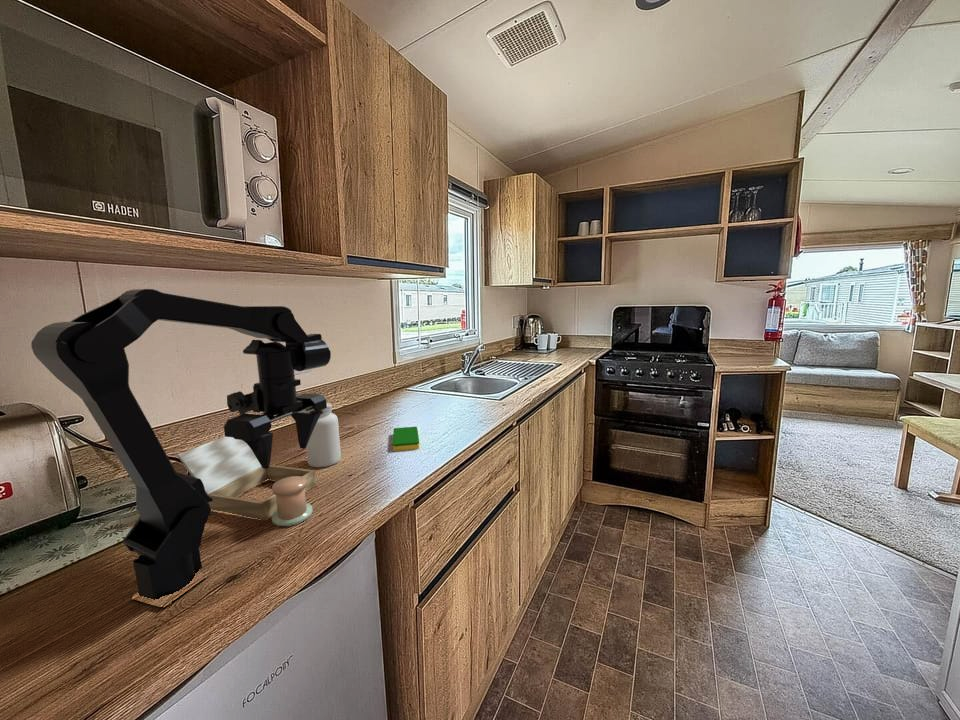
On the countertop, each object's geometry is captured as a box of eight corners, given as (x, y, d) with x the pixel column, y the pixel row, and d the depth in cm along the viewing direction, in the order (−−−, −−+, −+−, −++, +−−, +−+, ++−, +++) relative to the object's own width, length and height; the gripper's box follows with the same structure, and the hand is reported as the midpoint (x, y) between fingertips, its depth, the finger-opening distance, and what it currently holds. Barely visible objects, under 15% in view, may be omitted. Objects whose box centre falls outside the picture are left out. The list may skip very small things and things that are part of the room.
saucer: (294, 529, 69) (294, 525, 69) (263, 523, 71) (263, 519, 71) (320, 508, 76) (320, 505, 76) (291, 504, 78) (290, 500, 78)
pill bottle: (340, 453, 103) (336, 399, 101) (341, 465, 96) (337, 407, 93) (308, 458, 100) (303, 403, 98) (307, 470, 93) (301, 411, 91)
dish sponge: (393, 452, 104) (392, 444, 104) (394, 435, 117) (393, 427, 117) (419, 450, 105) (419, 442, 105) (417, 433, 119) (417, 426, 118)
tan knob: (294, 523, 70) (290, 492, 69) (268, 518, 71) (264, 488, 70) (315, 506, 75) (312, 477, 74) (291, 502, 77) (288, 474, 76)
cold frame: (264, 521, 72) (258, 464, 70) (184, 507, 77) (176, 454, 75) (316, 485, 86) (312, 437, 84) (245, 475, 91) (239, 429, 89)
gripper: (280, 365, 80) (287, 436, 83) (192, 385, 62) (204, 475, 65) (325, 367, 77) (331, 441, 79) (246, 388, 59) (257, 482, 62)
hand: (285, 457), depth 71 cm, fingers open, 9 cm apart
